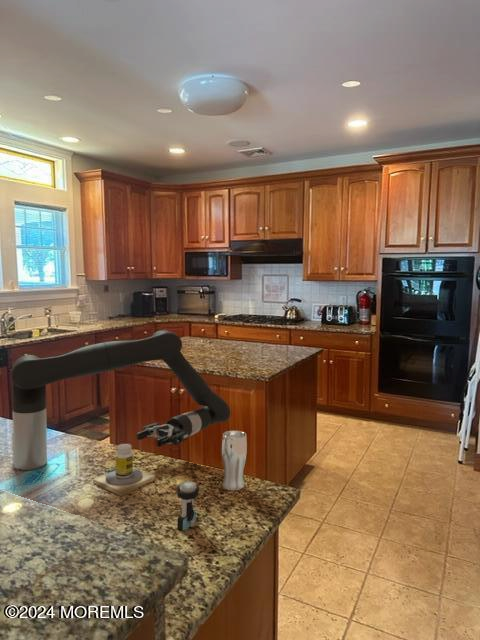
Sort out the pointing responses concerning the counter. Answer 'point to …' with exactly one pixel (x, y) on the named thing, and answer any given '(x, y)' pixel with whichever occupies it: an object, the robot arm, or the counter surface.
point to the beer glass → (234, 459)
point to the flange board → (123, 481)
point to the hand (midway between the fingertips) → (147, 440)
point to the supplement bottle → (124, 461)
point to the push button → (187, 504)
